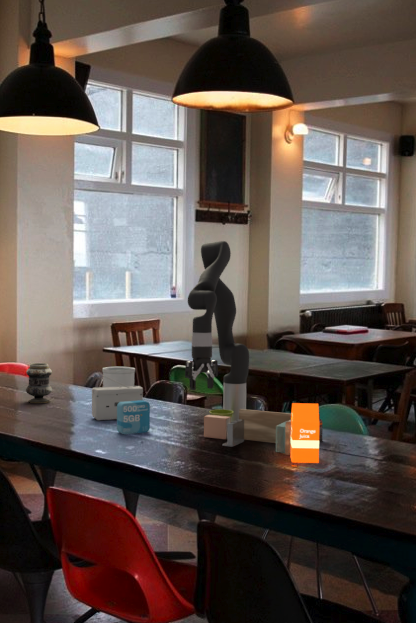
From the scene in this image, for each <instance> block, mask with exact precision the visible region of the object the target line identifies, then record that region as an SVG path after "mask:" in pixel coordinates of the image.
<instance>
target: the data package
mask: <svg viewBox="0 0 416 623" xmlns="http://www.w3.org/2000/svg"><path fill="white" fill-rule="evenodd" d="M150 409H151V405H150V403H149V402H148V401H146V400H138V401H125V402H119V403H118V404H117V419H116V430H117V432H118V433H119V434H122V435H131V434H132V435H133V434H143V433H148V432H149V431H150V428H151V423H150V422H151V421H150V420H151V418H150V417H151V416H150V415H151V412H150V411H151V410H150Z"/></svg>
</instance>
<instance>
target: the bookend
mask: <svg viewBox="0 0 416 623" xmlns="http://www.w3.org/2000/svg"><path fill="white" fill-rule="evenodd" d="M226 440H227V441H226V442H224V443H222V447H223V446H224V447H231V448H232V447H235V446H238V445H239V444H242V443H244V442H245V440H244V420H243V419H238V420H236V421H233V422H231V423H228V434H227V439H226Z"/></svg>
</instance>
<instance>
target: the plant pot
mask: <svg viewBox="0 0 416 623" xmlns="http://www.w3.org/2000/svg"><path fill="white" fill-rule="evenodd" d="M233 413H234V412H233V411H231V410H225V409H222V408H221V409H220V408H219V409H212V410H209V415H217V416H227V417H232V414H233Z"/></svg>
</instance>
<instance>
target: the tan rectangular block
mask: <svg viewBox="0 0 416 623" xmlns="http://www.w3.org/2000/svg"><path fill="white" fill-rule="evenodd" d="M228 423H231V417H227V416H217V415H210V414H207V415H204V416H203V438H212V439H218V440H219V439H220V440H227V434H228Z"/></svg>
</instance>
